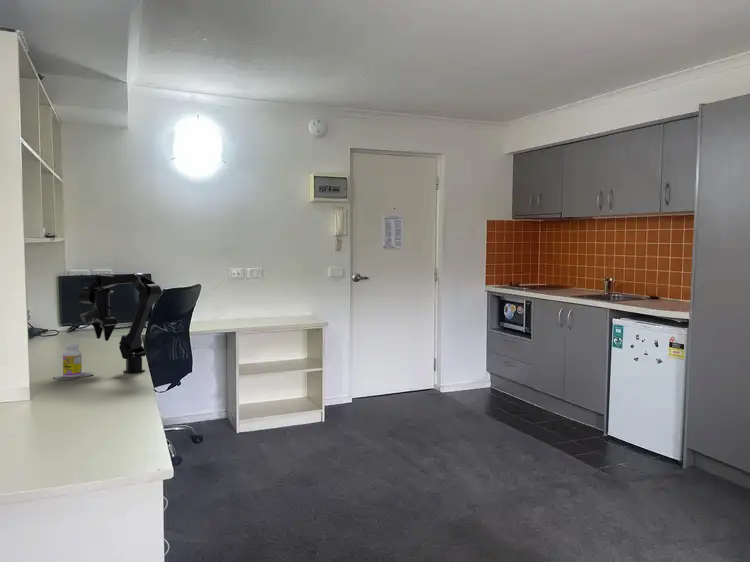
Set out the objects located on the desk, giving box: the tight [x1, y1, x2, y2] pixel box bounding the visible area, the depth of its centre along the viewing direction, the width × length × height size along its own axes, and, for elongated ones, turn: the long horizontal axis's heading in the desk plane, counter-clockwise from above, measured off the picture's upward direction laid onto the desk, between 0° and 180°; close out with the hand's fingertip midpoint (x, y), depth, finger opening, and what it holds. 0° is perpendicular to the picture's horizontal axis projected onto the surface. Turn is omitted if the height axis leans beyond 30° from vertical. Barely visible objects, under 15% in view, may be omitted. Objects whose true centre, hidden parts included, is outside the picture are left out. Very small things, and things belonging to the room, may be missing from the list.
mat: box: [52, 372, 94, 381], centre depth 227 cm, size 8×12×1 cm, turn 149°
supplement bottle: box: [62, 343, 83, 378], centre depth 226 cm, size 7×7×13 cm
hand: (102, 339), depth 242 cm, fingers open, 9 cm apart
